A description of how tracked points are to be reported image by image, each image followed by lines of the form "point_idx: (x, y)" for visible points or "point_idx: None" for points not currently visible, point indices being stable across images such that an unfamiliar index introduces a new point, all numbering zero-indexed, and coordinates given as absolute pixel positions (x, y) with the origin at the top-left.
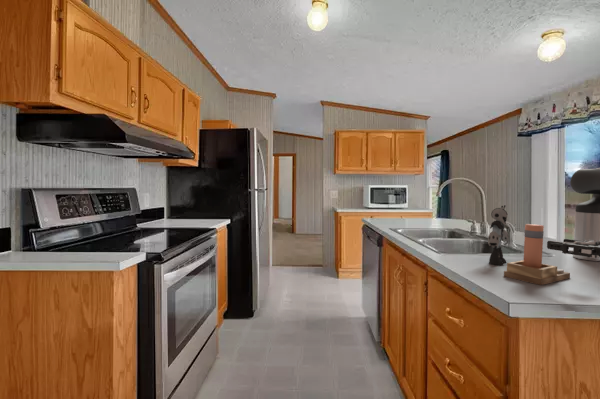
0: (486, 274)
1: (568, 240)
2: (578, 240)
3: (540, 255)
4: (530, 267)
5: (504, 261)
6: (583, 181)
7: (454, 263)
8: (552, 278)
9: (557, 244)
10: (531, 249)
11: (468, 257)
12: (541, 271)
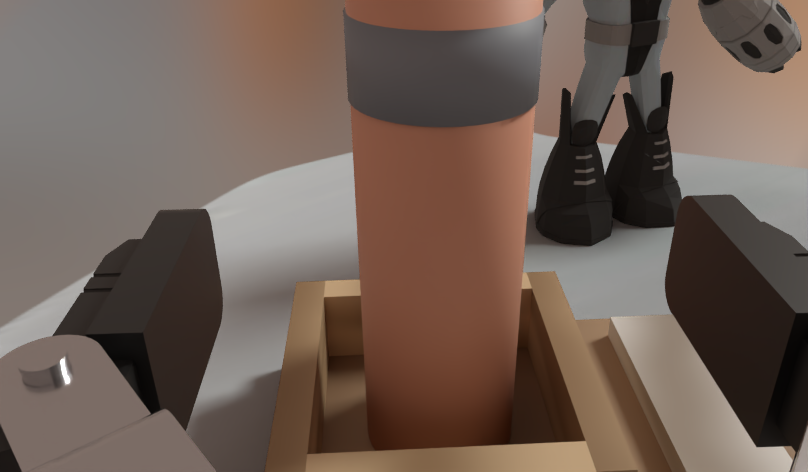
0: (236, 313)
1: (707, 236)
2: (797, 300)
3: (435, 315)
4: (295, 404)
5: (653, 214)
6: None
7: (336, 176)
8: None
9: (67, 328)
10: (360, 231)
11: (546, 142)
12: None
